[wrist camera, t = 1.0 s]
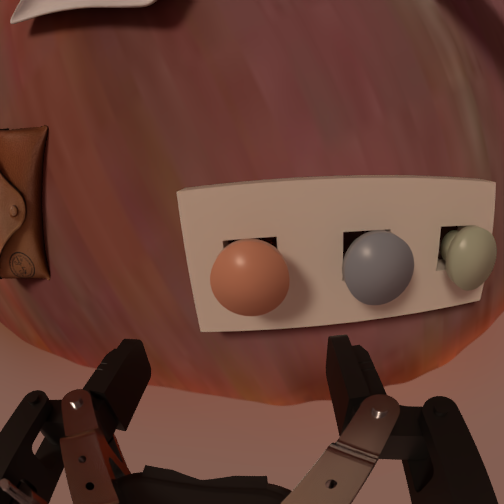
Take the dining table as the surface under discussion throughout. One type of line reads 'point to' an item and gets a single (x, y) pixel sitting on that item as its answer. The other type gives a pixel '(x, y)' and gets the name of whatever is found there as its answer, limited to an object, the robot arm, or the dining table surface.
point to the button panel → (330, 240)
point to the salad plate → (68, 6)
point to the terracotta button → (250, 277)
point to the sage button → (469, 256)
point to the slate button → (377, 267)
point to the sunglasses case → (22, 203)
